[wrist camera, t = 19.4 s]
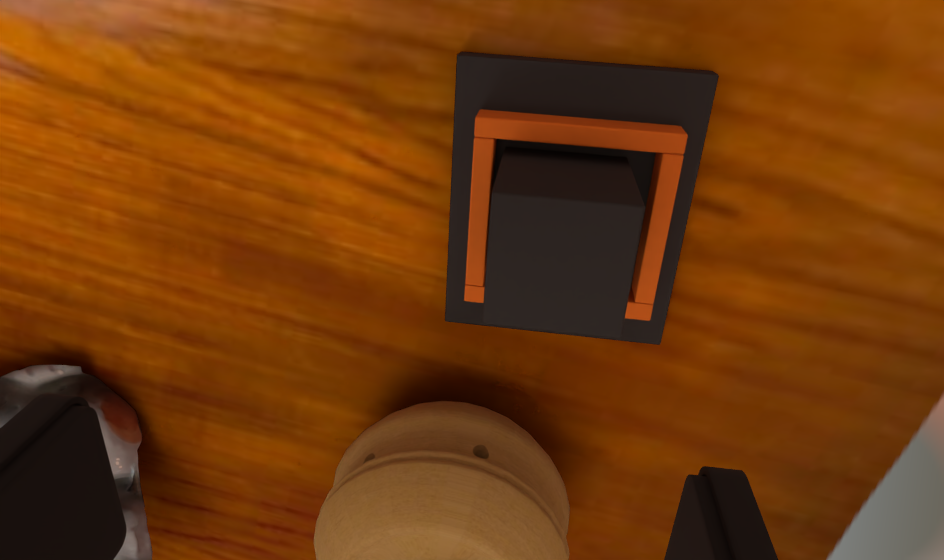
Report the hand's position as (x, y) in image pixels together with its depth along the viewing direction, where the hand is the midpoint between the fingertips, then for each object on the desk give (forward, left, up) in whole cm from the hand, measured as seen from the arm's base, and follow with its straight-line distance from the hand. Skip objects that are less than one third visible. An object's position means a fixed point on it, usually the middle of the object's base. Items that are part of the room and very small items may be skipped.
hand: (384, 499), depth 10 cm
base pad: (+2, +3, -20) cm, 20 cm away
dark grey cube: (+2, +3, -19) cm, 19 cm away
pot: (+17, -1, -20) cm, 26 cm away
